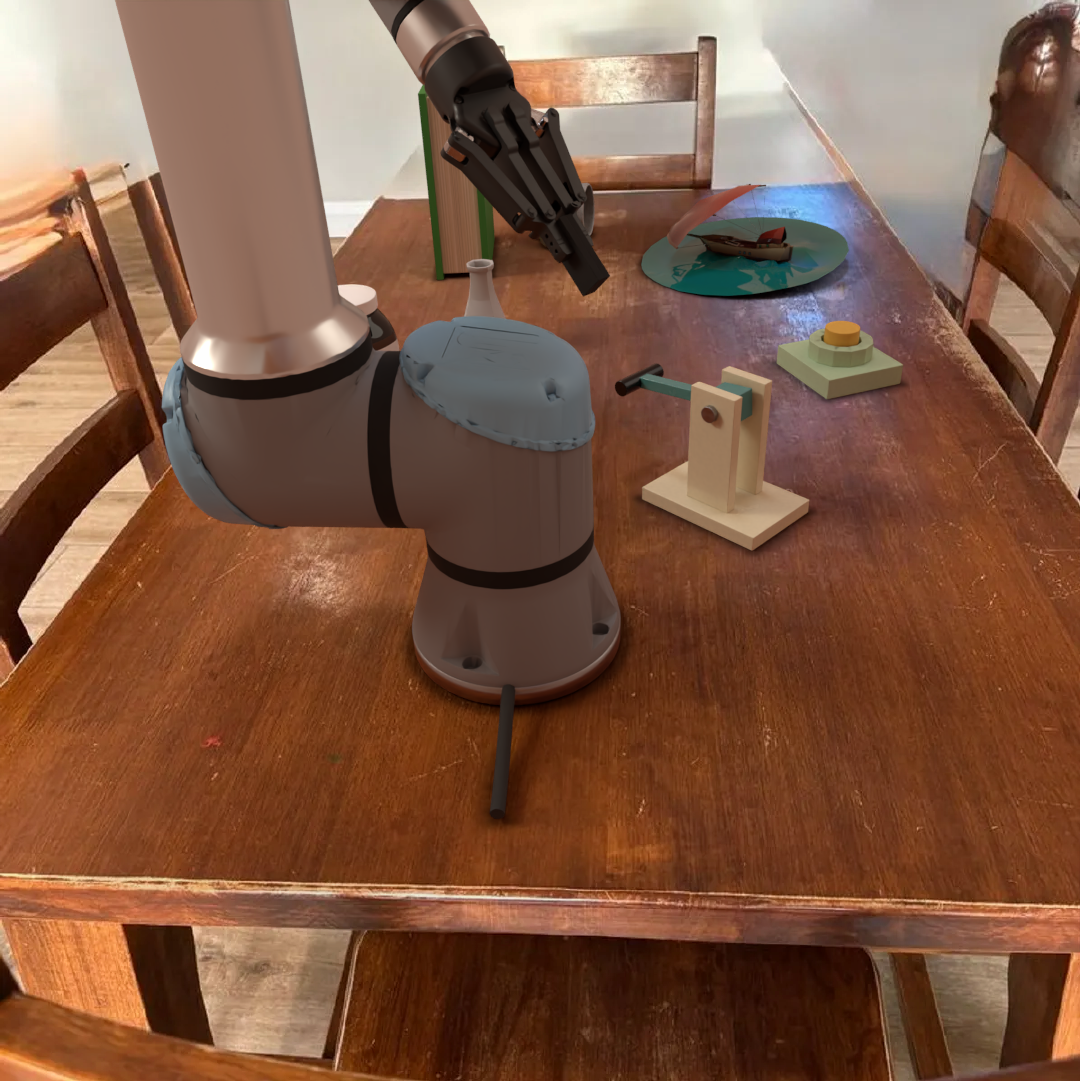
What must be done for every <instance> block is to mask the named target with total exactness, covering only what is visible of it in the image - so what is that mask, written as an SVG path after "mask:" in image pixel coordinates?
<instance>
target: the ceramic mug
mask: <svg viewBox="0 0 1080 1081" xmlns="http://www.w3.org/2000/svg"><path fill="white" fill-rule="evenodd" d="M581 183H582V186H583V188H584V191H585V193H586V196H587V200H586V201H585V202H584V203H583V205H582V206H581V207H580V208H579V210H578V211H577V215H578V217H579V219H580V221H581V222H582V224H583V226H584V227H585V229H586V231H587V232H588V234H589V235H590V236H591V235H592V233H593V230H594V225H595V215H596V214H595V213H596V211H595V205H596V204H595V196H594V195H595V194H594V189H593V187H592V185H591V183H589V182H581ZM538 240H539V241H540V244H542V245H543V246H545V247H546V248H547V246H546V244H545V243H544V241H543V240H542V238H541V237H539V239H538Z"/></svg>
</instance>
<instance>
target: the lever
mask: <svg viewBox="0 0 1080 1081" xmlns="http://www.w3.org/2000/svg"><path fill="white" fill-rule="evenodd" d="M664 374H665V372H664V368H663V366H662V365H661V364H660V363H657V362H654V363H653V364H650V365H649V366H646V367H644V368H641V369H640V370H638V371H636V372H634V373H631V374H630V375H628V376H625V377H622V378H621V379H619V380H617V381H616V382H615V383H614V390H615V393H616V394H617V395H618V396H620V397H626V396H628V395H630V394H632V393H634V392H637V391H638V390H640V389H643V390H647V391H651V392H653V393H658V394H662V395H665V396H670V397H673V398H676V399H677V398H678V399H680V400H681V399H682V400H685V401H688V402H691V385H692V384H691V383H687V382H682V381H679V380H675V379H670V378H667V377H664ZM715 387H716V388H719V389H722V390H724V391H727V392H730V393H733V394H736V395H738V396H741V397H742V410H741V421H743V420H744V419H746V418H748V417H750V416H752V388H749V387H744V386H740V385H736V384H732V383H728V382H724V383H722V384H721V383H720V384H718V385H717V386H715Z"/></svg>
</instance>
